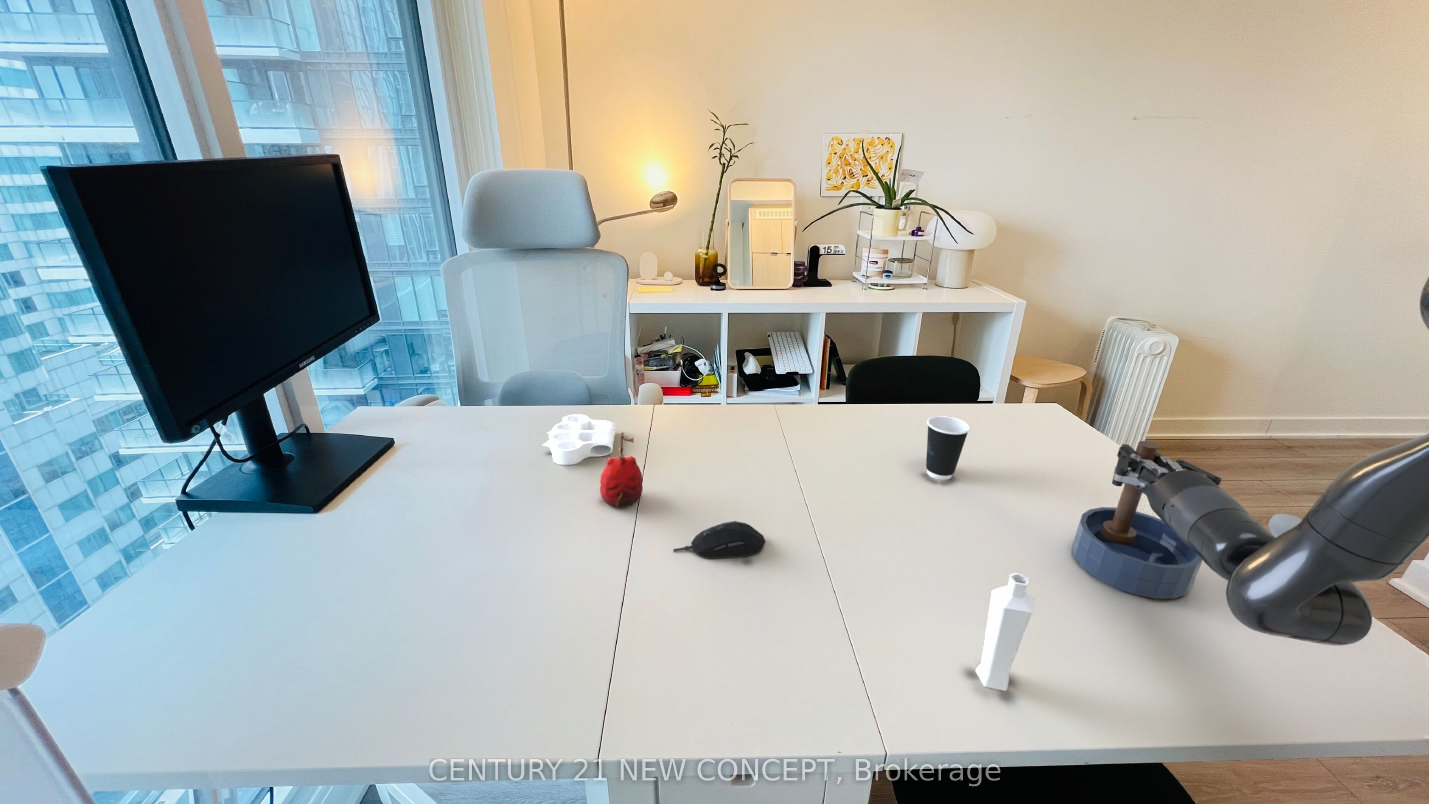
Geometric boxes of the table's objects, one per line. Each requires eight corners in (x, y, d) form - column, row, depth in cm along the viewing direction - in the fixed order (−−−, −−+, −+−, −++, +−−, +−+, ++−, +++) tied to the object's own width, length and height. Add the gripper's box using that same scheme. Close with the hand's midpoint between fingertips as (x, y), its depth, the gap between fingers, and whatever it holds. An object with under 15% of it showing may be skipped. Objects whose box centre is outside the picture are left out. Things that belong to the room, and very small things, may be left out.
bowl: (1190, 562, 95) (1203, 530, 92) (1188, 617, 83) (1203, 583, 81) (1079, 526, 103) (1088, 496, 101) (1063, 572, 92) (1073, 539, 89)
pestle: (1135, 535, 93) (1167, 443, 87) (1132, 548, 90) (1166, 454, 84) (1102, 524, 96) (1131, 435, 89) (1099, 537, 92) (1129, 445, 86)
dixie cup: (968, 476, 119) (979, 426, 114) (944, 487, 114) (954, 436, 110) (934, 460, 125) (943, 412, 120) (910, 470, 120) (918, 421, 116)
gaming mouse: (671, 539, 98) (671, 519, 96) (759, 532, 100) (760, 512, 98) (675, 563, 92) (675, 542, 90) (768, 555, 94) (770, 534, 93)
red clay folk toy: (640, 488, 112) (637, 416, 106) (646, 508, 106) (643, 432, 100) (599, 493, 110) (594, 419, 105) (602, 514, 104) (598, 437, 98)
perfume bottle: (993, 698, 70) (1021, 597, 64) (966, 670, 74) (990, 572, 68) (1022, 687, 72) (1052, 587, 66) (994, 660, 75) (1020, 563, 70)
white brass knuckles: (611, 464, 121) (537, 466, 119) (617, 426, 137) (552, 427, 136) (610, 449, 119) (535, 451, 118) (616, 413, 136) (551, 414, 135)
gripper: (1273, 492, 72) (1191, 432, 88) (1148, 481, 74) (1090, 423, 90) (1250, 544, 75) (1175, 476, 91) (1130, 531, 77) (1077, 467, 93)
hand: (1133, 450), depth 90 cm, fingers closed on pestle, 2 cm apart
